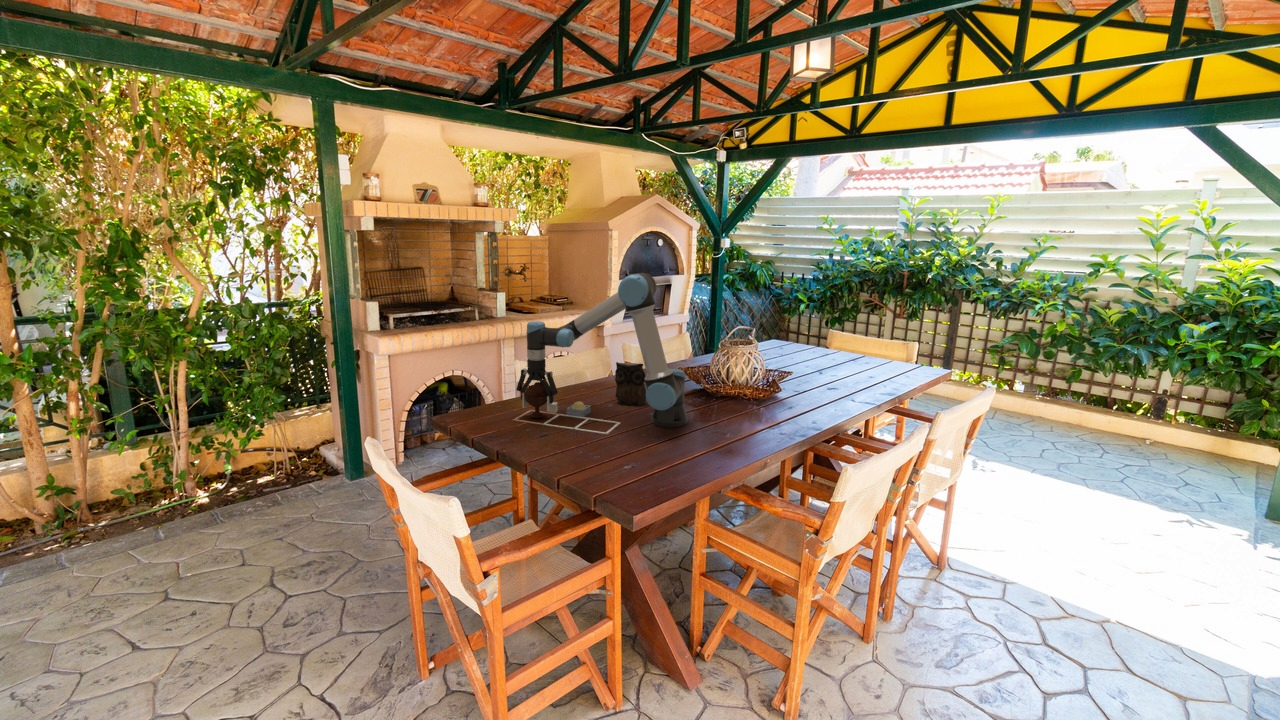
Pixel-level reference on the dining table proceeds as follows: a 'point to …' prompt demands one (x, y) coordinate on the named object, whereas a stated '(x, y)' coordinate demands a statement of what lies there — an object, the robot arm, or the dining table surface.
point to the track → (568, 427)
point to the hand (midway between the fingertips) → (537, 408)
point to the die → (554, 407)
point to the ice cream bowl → (536, 397)
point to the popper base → (578, 411)
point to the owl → (630, 384)
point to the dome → (579, 405)
